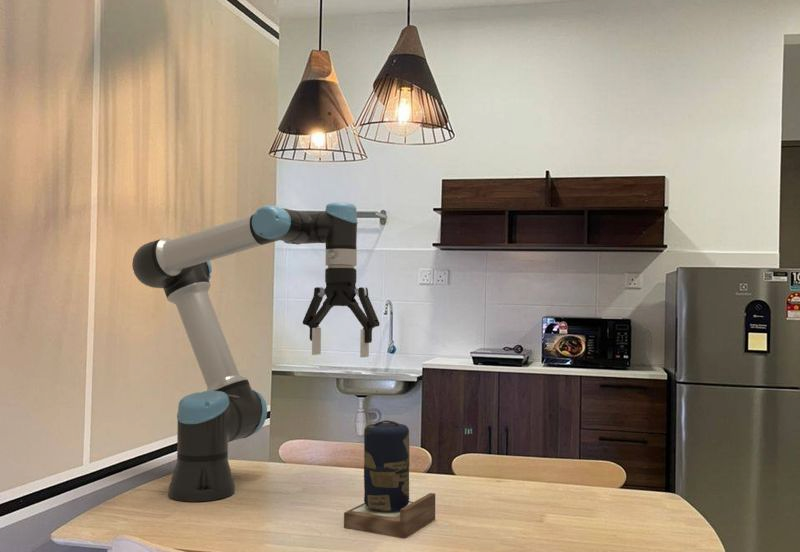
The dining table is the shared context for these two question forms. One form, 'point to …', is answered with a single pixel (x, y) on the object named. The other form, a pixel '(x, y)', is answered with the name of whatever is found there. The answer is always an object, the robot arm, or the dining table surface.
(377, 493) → the canister
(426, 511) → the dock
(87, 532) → the dining table surface
